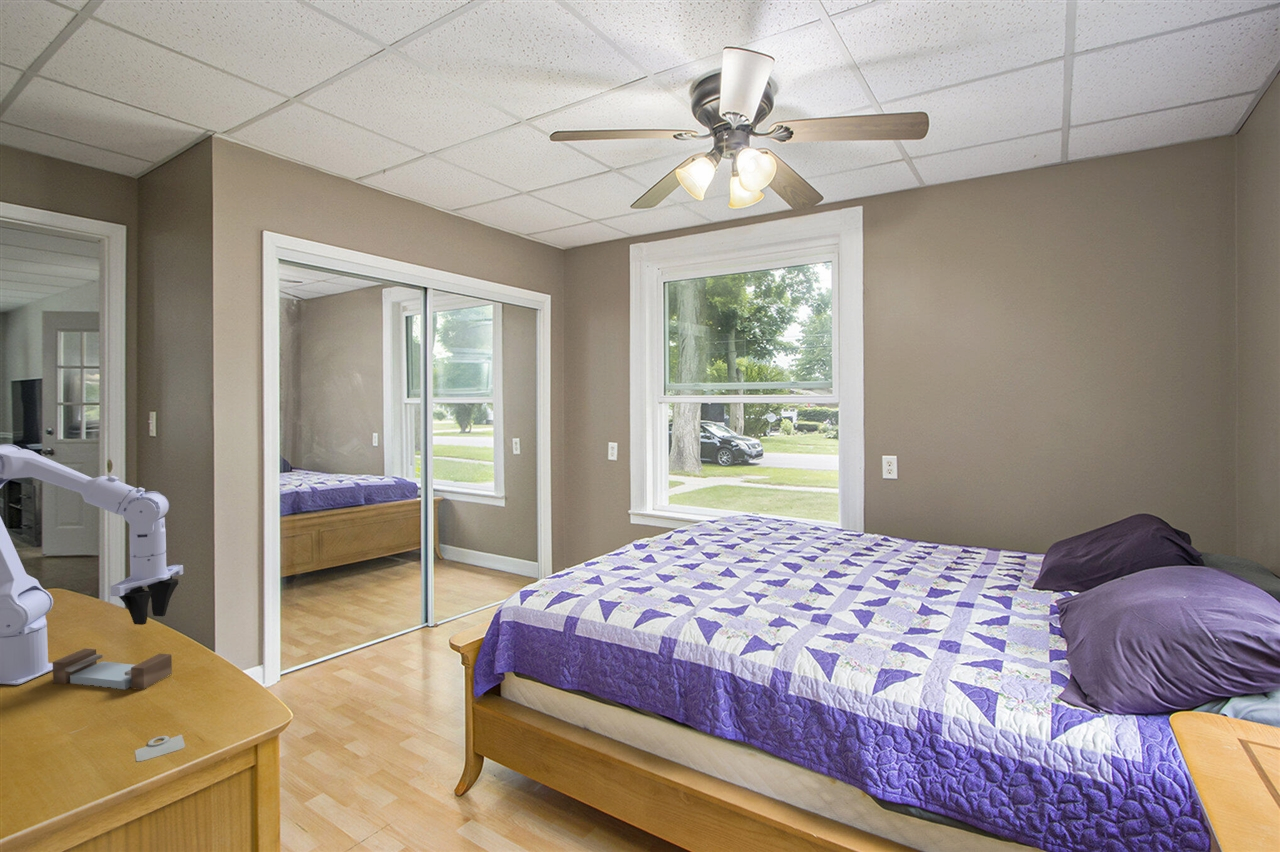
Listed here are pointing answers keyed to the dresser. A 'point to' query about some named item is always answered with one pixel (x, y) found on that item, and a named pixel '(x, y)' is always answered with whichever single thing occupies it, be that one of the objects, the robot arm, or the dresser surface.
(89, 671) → the cover plate
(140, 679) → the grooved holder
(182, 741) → the mounting bracket
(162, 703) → the dresser surface
